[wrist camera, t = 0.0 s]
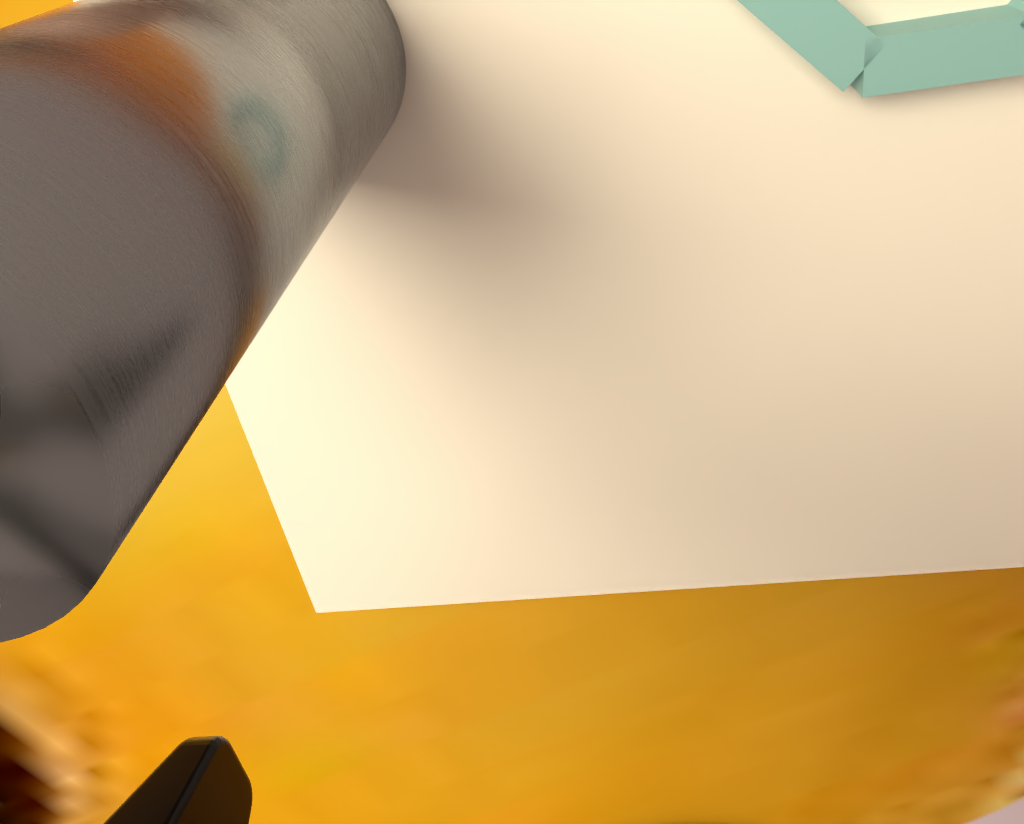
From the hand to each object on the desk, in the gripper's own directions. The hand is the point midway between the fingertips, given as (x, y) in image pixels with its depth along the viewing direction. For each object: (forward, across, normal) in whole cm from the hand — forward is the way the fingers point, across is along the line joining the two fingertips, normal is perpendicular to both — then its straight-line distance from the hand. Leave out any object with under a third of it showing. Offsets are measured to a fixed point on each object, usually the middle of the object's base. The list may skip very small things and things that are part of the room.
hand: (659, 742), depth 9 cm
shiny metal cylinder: (+12, +6, -5) cm, 15 cm away
